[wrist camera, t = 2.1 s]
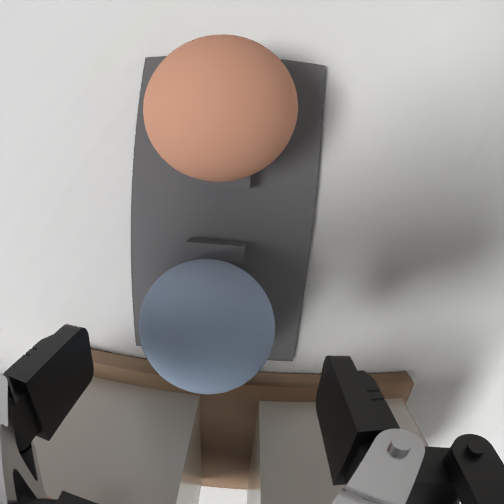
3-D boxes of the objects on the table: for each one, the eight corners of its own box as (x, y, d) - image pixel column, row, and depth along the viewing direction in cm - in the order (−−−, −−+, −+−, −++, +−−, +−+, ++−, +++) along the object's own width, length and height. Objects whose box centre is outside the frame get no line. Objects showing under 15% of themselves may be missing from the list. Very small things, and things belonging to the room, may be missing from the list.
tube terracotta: (62, 366, 14) (-34, 487, 5) (201, 394, 15) (164, 576, 5) (91, 455, 16) (42, 559, 7) (203, 479, 17) (185, 605, 7)
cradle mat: (147, 59, 12) (139, 51, 11) (324, 67, 12) (330, 59, 11) (138, 342, 15) (130, 354, 14) (292, 358, 15) (294, 371, 14)
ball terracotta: (173, 63, 12) (133, 12, 7) (293, 68, 12) (314, 15, 7) (162, 177, 13) (110, 181, 8) (283, 185, 13) (302, 192, 8)
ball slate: (159, 240, 14) (110, 277, 9) (277, 250, 14) (290, 295, 9) (161, 342, 15) (127, 410, 10) (265, 353, 15) (269, 427, 10)
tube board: (63, 342, 15) (53, 352, 14) (406, 371, 16) (414, 383, 15) (94, 450, 18) (89, 460, 17) (359, 473, 18) (363, 484, 17)
